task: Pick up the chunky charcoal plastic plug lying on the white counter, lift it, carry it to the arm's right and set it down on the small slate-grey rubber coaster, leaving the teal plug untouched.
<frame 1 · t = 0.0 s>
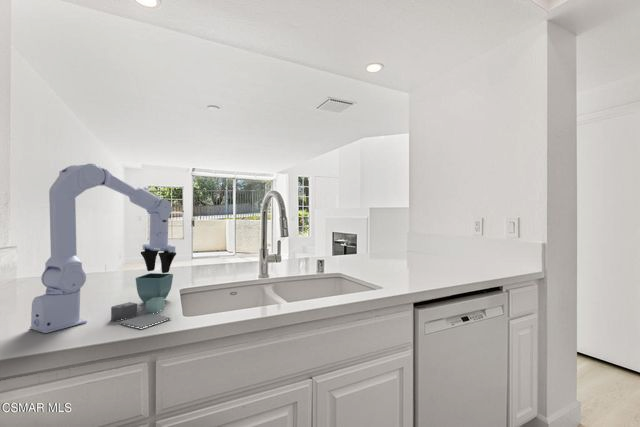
hand: (158, 271, 108), 10 cm above the counter, tool pointing down, fingers open, 7 cm apart
charcoal plug: (125, 317, 90), on the counter
coaster: (145, 321, 86), on the counter
teal plug: (155, 310, 97), on the counter
flower pot: (154, 302, 107), on the counter
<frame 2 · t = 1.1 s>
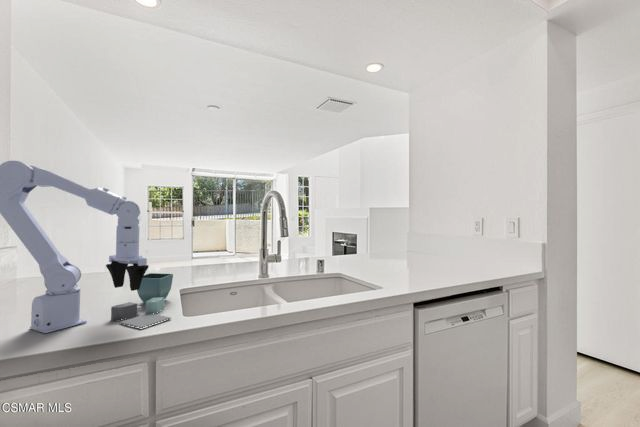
hand: (126, 288, 90), 8 cm above the counter, tool pointing down, fingers open, 7 cm apart
nothing on the counter moved.
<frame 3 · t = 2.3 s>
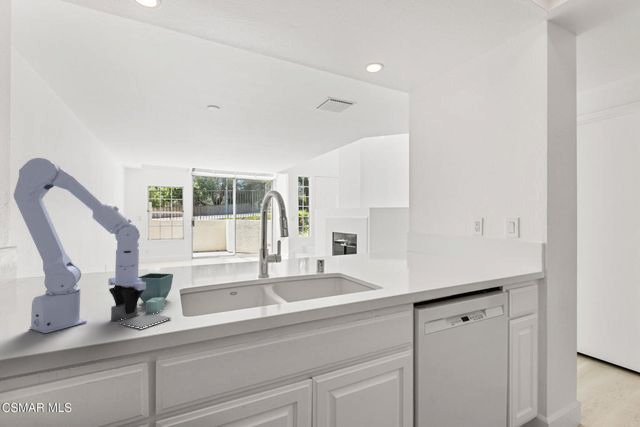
hand: (126, 312, 90), 1 cm above the counter, tool pointing down, fingers closed on charcoal plug, 3 cm apart
charcoal plug: (125, 317, 90), on the counter, touching gripper
everything else where it was.
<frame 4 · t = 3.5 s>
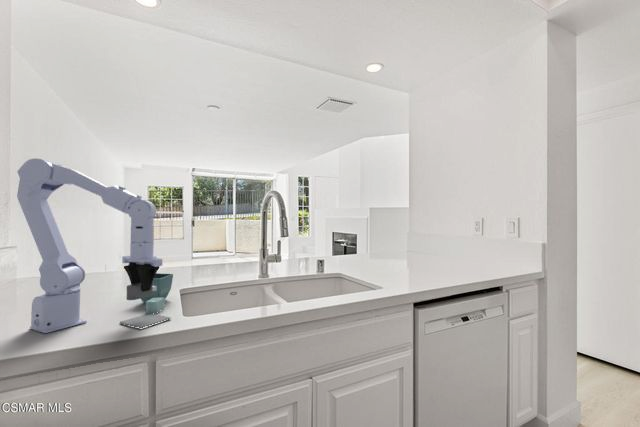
hand: (141, 290, 88), 9 cm above the counter, tool pointing down, fingers closed on charcoal plug, 3 cm apart
charcoal plug: (141, 296, 88), point 7 cm above the counter, touching gripper
everything else where it was.
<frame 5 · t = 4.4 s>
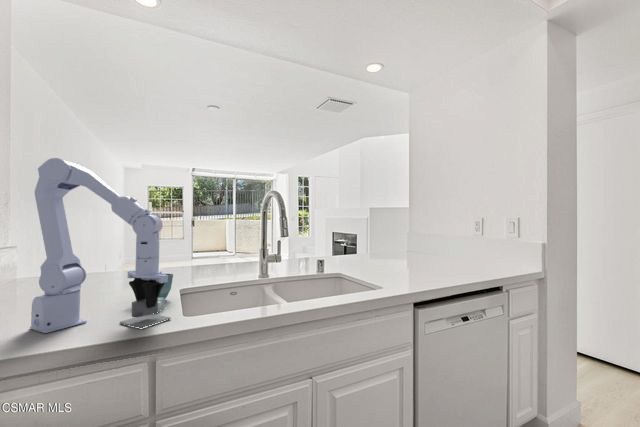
hand: (146, 306, 86), 4 cm above the counter, tool pointing down, fingers closed on charcoal plug, 3 cm apart
charcoal plug: (146, 312, 86), point 2 cm above the counter, touching gripper
everything else where it was.
when the fingers open (3 cm above the counter, at t = 5.0 s): charcoal plug stays where it is, resting on coaster.
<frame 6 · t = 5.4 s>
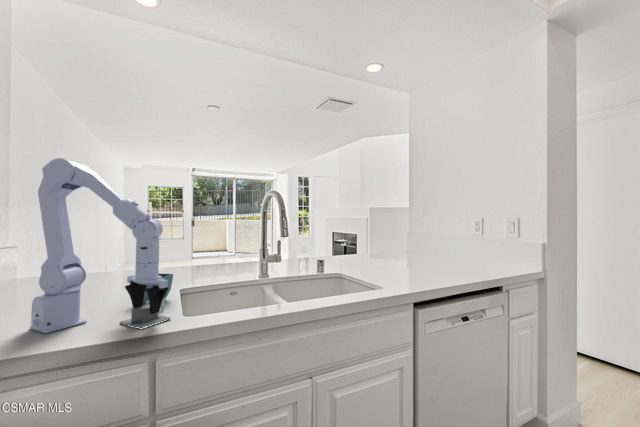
hand: (146, 311, 86), 3 cm above the counter, tool pointing down, fingers open, 7 cm apart
charcoal plug: (146, 319, 86), point 1 cm above the counter, touching coaster
everything else where it was.
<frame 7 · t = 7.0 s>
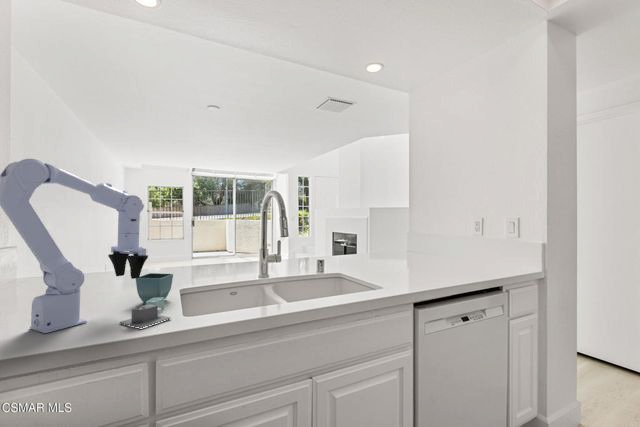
hand: (127, 277, 97), 10 cm above the counter, tool pointing down, fingers open, 7 cm apart
nothing on the counter moved.
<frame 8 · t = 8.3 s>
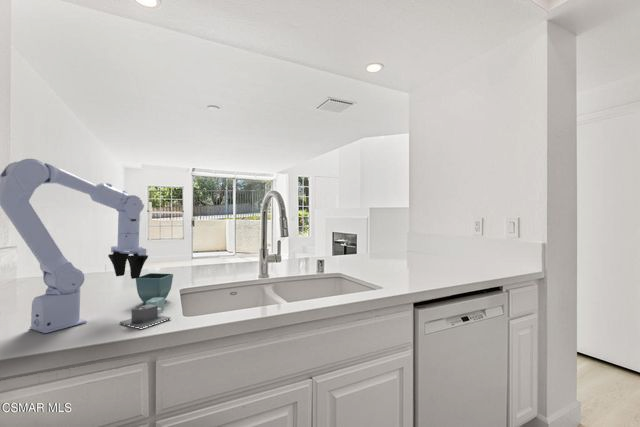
hand: (127, 277, 97), 10 cm above the counter, tool pointing down, fingers open, 7 cm apart
nothing on the counter moved.
at the end: charcoal plug inside the target area on the coaster (0.1 cm from its centre), point 0.6 cm above the coaster's base; charcoal plug tilted 0°; the gripper is holding nothing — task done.
